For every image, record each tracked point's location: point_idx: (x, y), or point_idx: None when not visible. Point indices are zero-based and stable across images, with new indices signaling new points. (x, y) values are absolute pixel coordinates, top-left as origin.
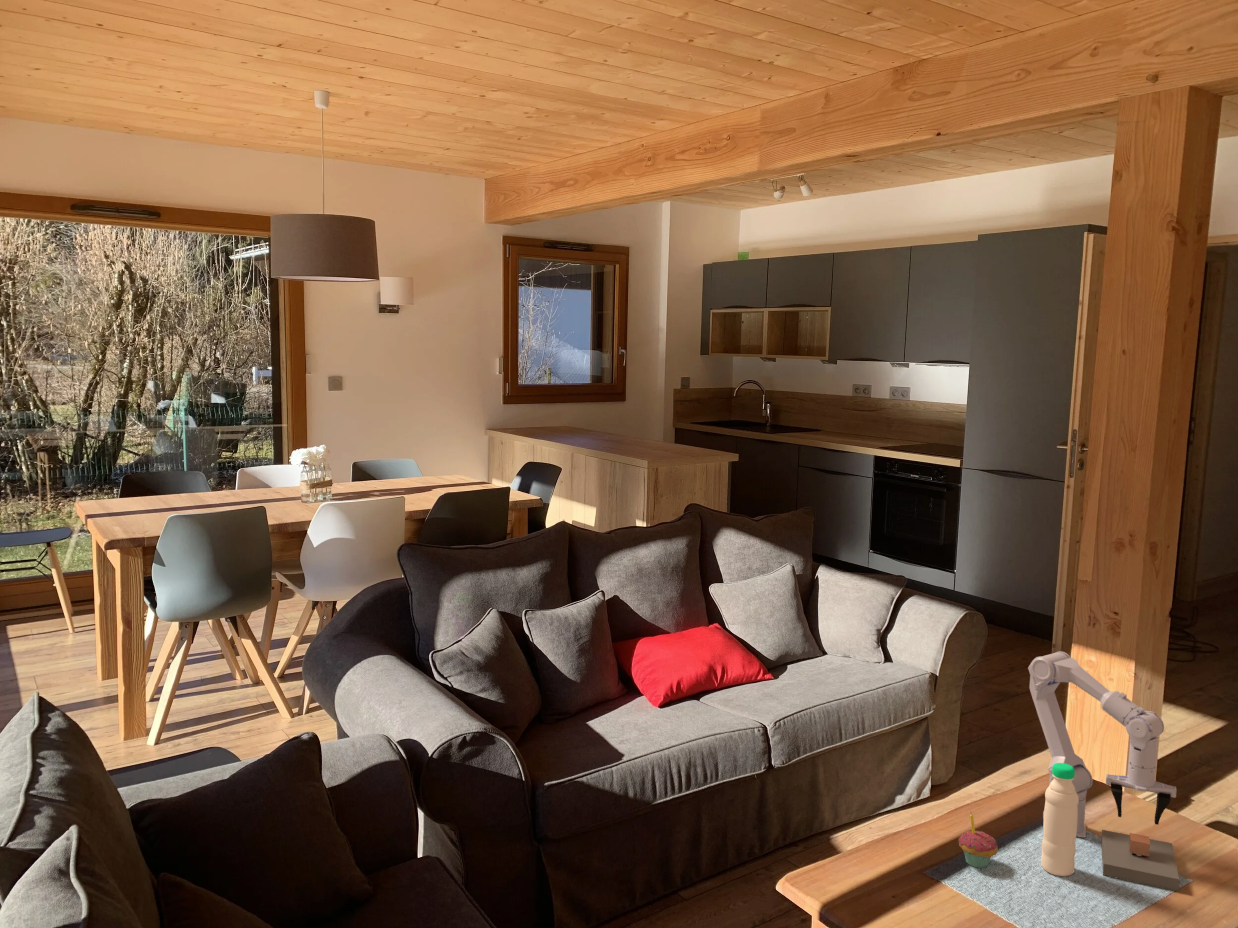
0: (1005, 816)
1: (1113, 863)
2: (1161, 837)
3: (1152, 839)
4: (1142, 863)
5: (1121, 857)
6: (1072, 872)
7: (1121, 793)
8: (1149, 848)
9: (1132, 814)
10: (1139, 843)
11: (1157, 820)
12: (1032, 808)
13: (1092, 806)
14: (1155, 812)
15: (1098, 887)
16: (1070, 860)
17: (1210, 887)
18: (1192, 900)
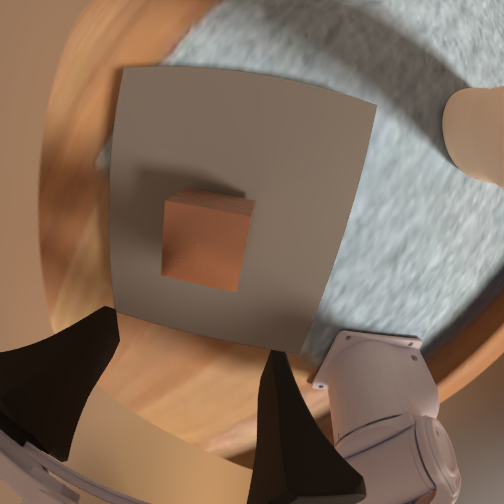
0: (457, 363)
1: (340, 110)
2: (148, 359)
3: (161, 324)
4: (221, 139)
5: (294, 169)
6: (450, 97)
7: (296, 487)
8: (174, 195)
9: (197, 419)
10: (211, 205)
11: (95, 314)
12: None
13: None
14: (102, 368)
15: (388, 36)
16: (482, 92)
17: (67, 139)
18: (123, 42)
